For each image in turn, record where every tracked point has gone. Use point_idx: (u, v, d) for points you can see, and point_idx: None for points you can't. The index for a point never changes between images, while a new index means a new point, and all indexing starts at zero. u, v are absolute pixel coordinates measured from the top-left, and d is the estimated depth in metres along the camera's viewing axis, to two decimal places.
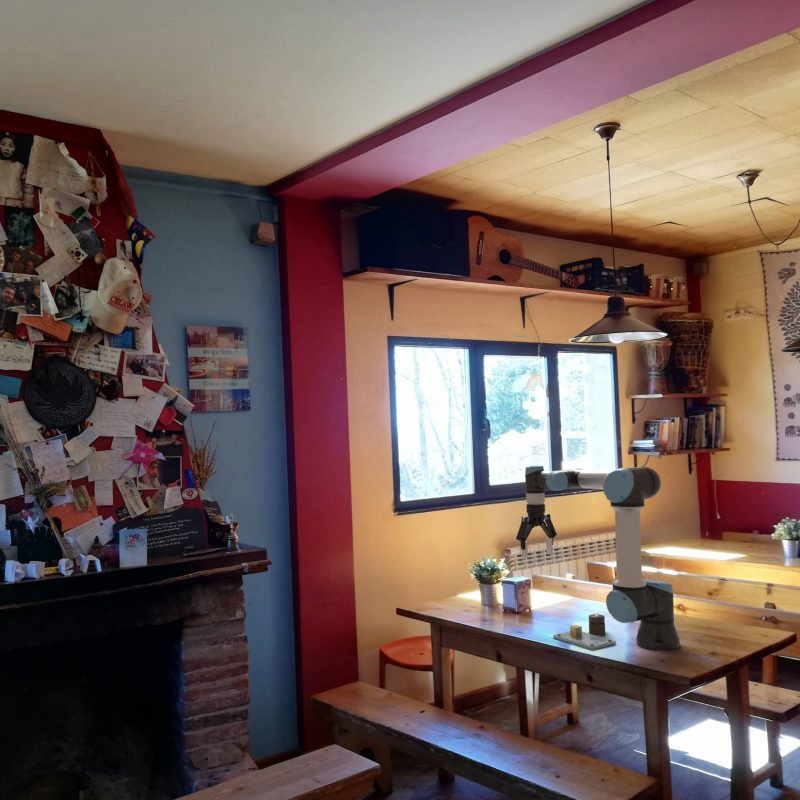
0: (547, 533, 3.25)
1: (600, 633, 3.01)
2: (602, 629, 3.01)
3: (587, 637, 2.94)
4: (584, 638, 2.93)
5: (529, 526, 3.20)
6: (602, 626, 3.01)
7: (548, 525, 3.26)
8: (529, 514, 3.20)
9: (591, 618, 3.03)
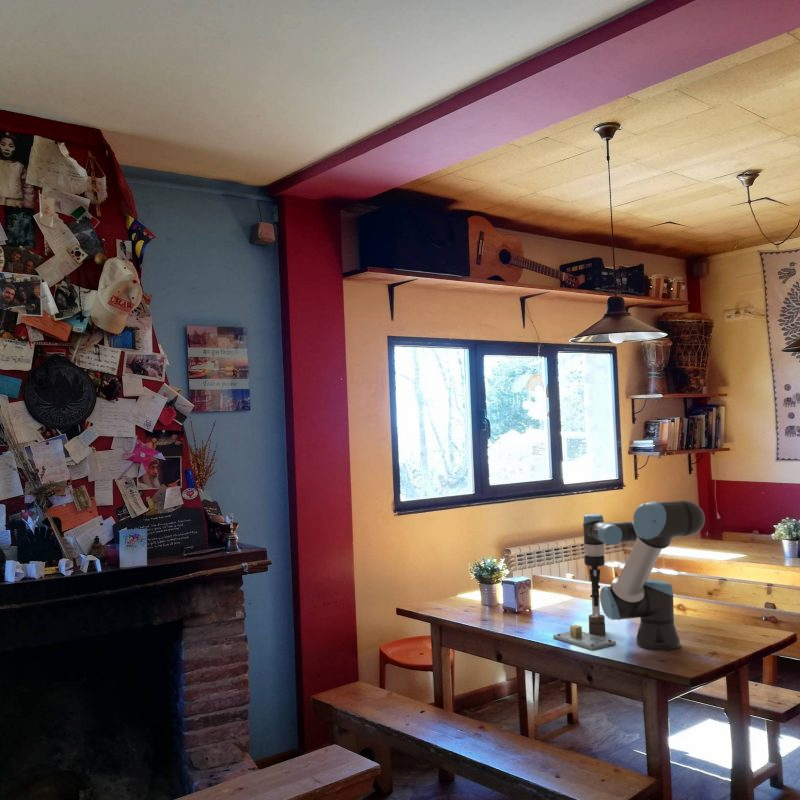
0: None
1: (600, 633, 3.01)
2: (602, 629, 3.01)
3: (587, 637, 2.94)
4: (584, 638, 2.93)
5: None
6: (602, 626, 3.01)
7: None
8: (595, 567, 3.01)
9: (591, 618, 3.03)
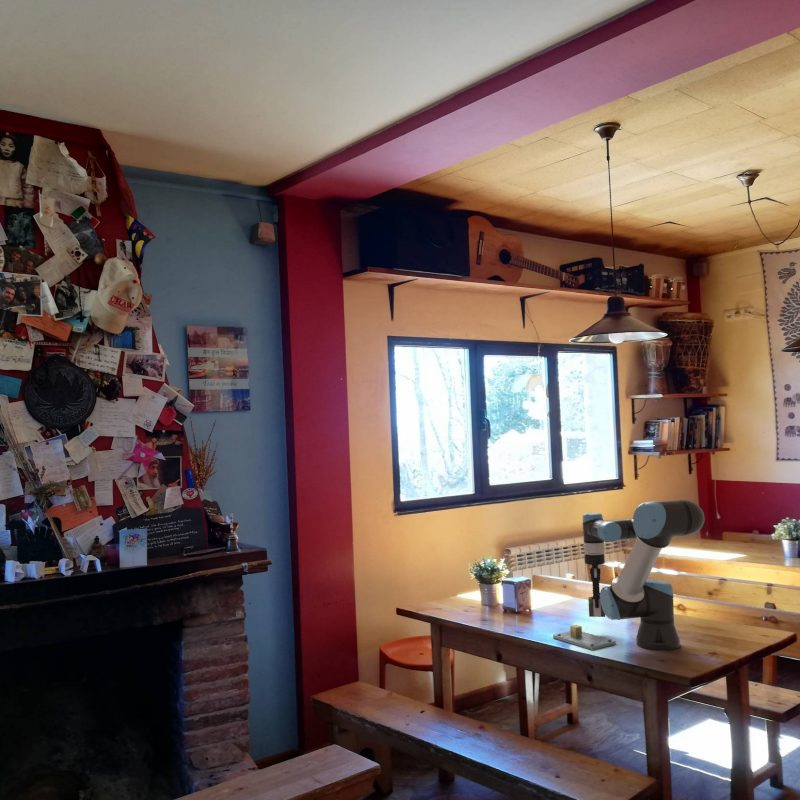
0: None
1: None
2: (602, 611, 3.00)
3: (587, 637, 2.94)
4: (584, 638, 2.93)
5: None
6: None
7: None
8: (595, 566, 3.01)
9: (591, 600, 3.02)
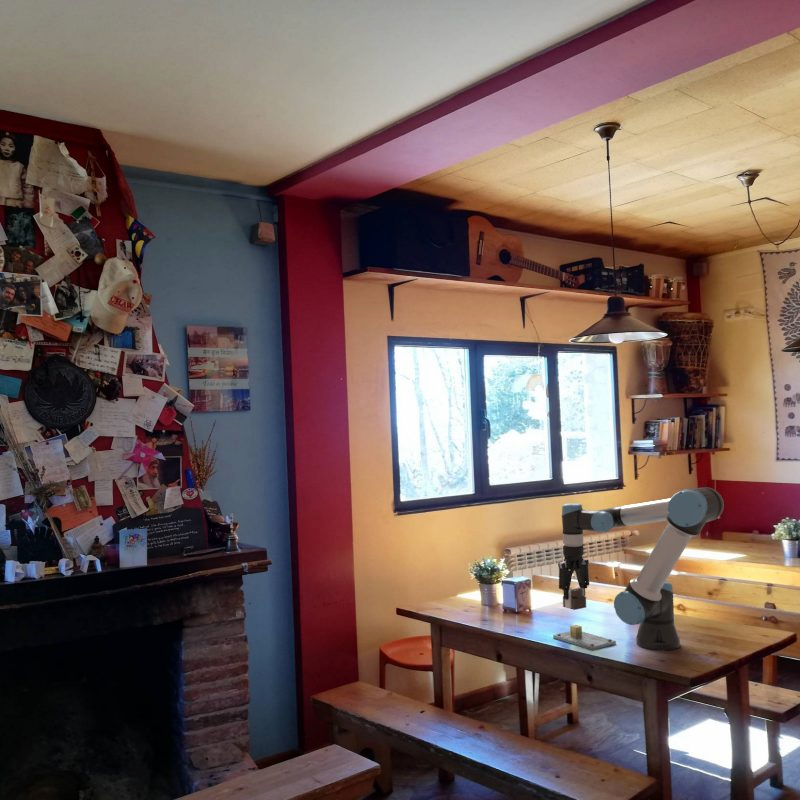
0: (580, 581, 2.99)
1: None
2: (572, 603, 2.94)
3: (587, 637, 2.94)
4: (584, 638, 2.93)
5: (568, 572, 2.96)
6: (572, 600, 2.94)
7: (583, 572, 3.01)
8: (566, 557, 2.96)
9: None
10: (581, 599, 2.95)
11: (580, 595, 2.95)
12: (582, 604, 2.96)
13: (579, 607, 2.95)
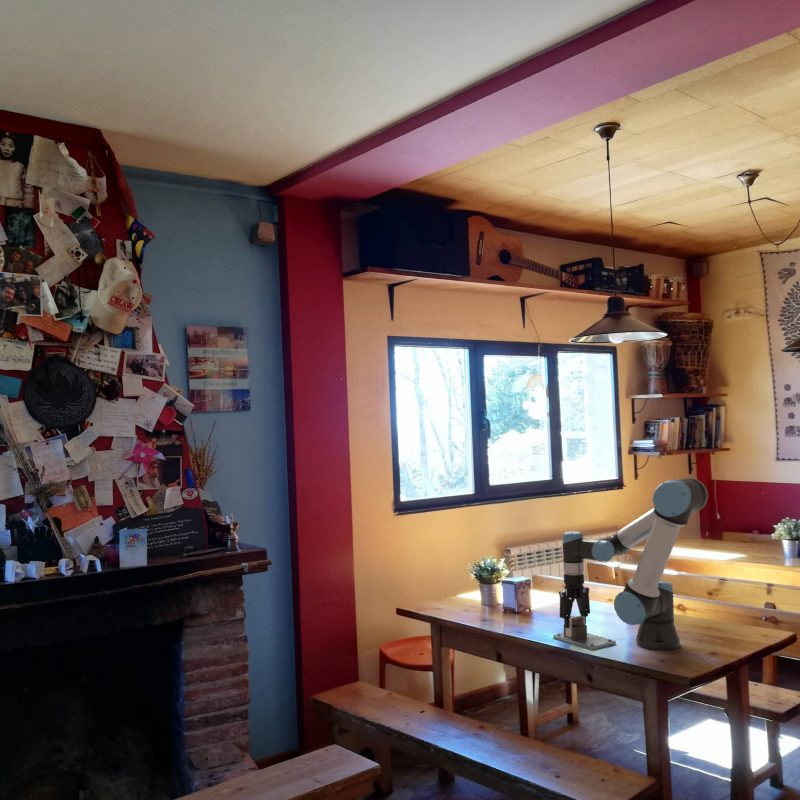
0: (581, 609, 2.99)
1: None
2: (573, 632, 2.94)
3: (587, 637, 2.94)
4: (584, 638, 2.93)
5: (569, 601, 2.95)
6: (573, 628, 2.94)
7: (584, 600, 3.00)
8: (567, 585, 2.95)
9: None
10: (582, 627, 2.95)
11: (581, 623, 2.95)
12: (583, 632, 2.95)
13: (580, 636, 2.94)
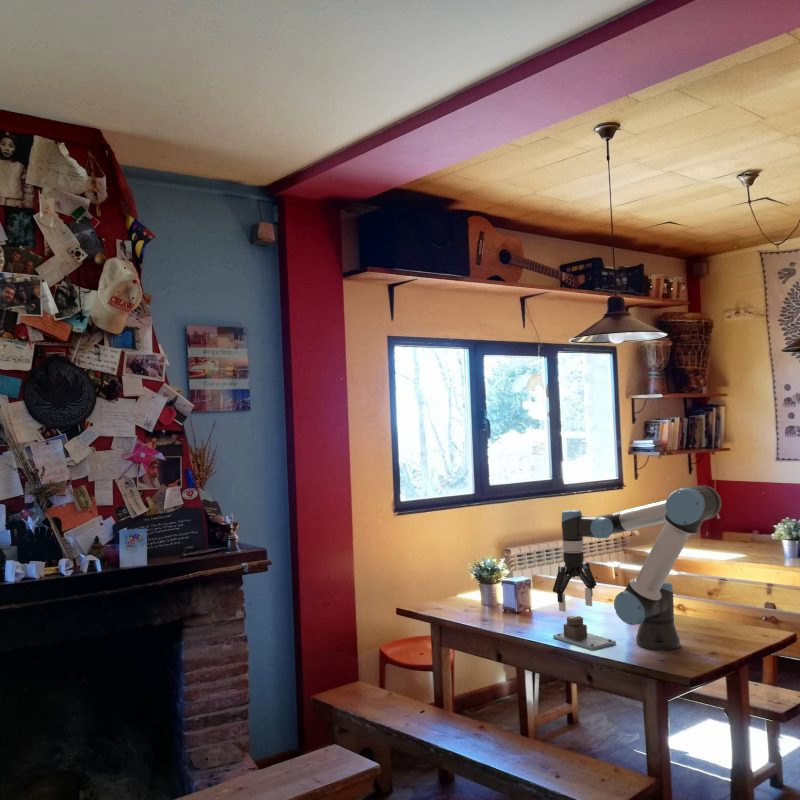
0: (586, 583, 3.00)
1: (571, 635, 2.95)
2: (573, 632, 2.94)
3: (587, 637, 2.94)
4: (584, 638, 2.93)
5: (566, 577, 2.95)
6: (573, 628, 2.94)
7: (587, 574, 3.01)
8: (566, 563, 2.96)
9: None
10: (582, 627, 2.95)
11: (581, 623, 2.95)
12: (583, 632, 2.95)
13: (580, 636, 2.94)
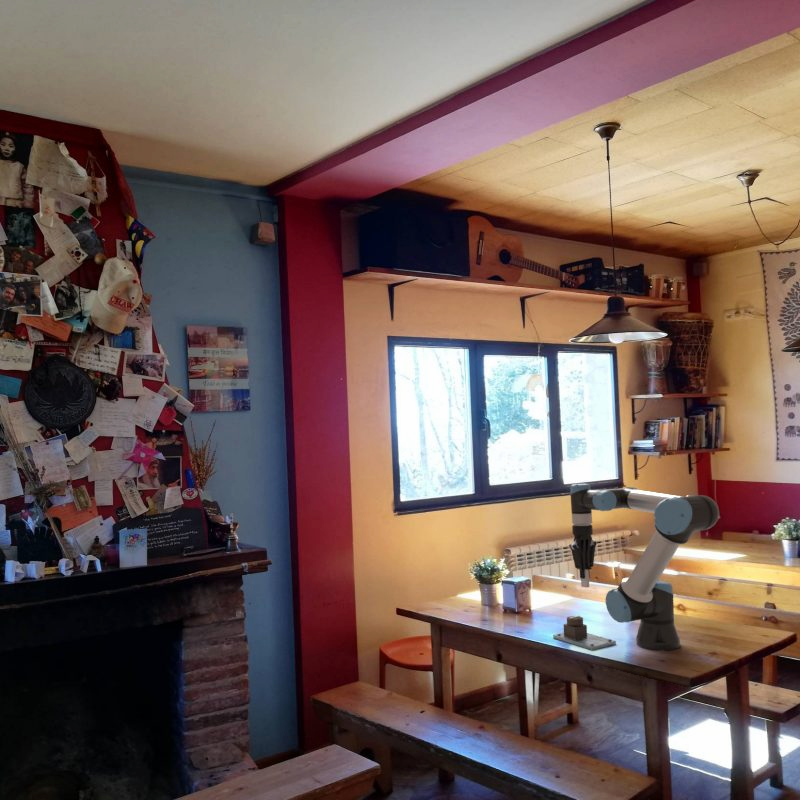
0: (585, 562, 3.02)
1: (571, 635, 2.95)
2: (573, 632, 2.94)
3: (587, 637, 2.94)
4: (584, 638, 2.93)
5: (581, 552, 3.00)
6: (573, 628, 2.94)
7: (589, 553, 3.04)
8: (576, 536, 3.00)
9: None
10: (582, 627, 2.95)
11: (581, 623, 2.95)
12: (583, 632, 2.95)
13: (580, 636, 2.94)
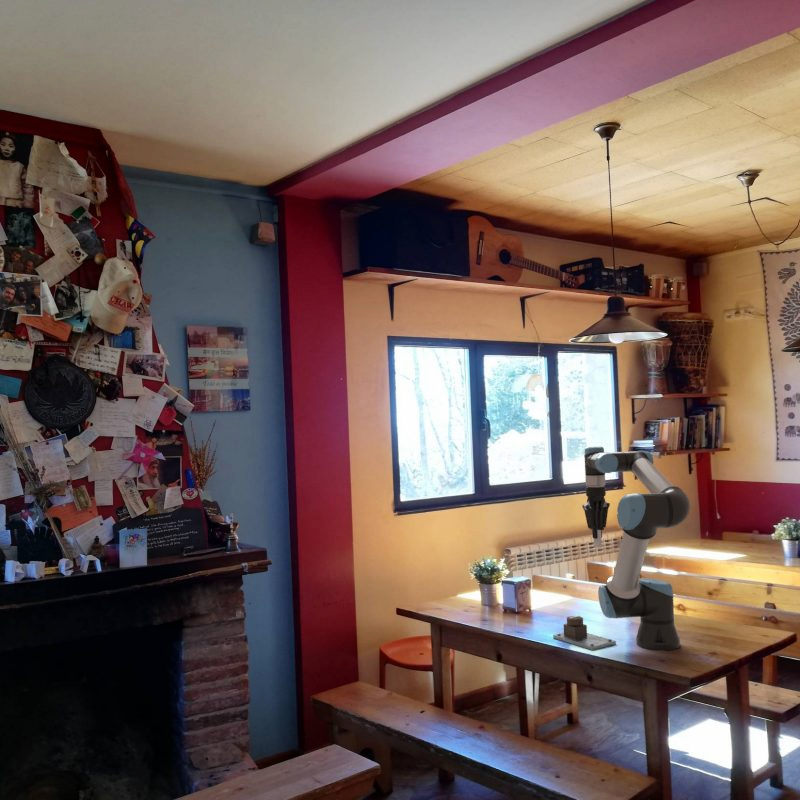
0: (598, 522, 3.09)
1: (571, 635, 2.95)
2: (573, 632, 2.94)
3: (587, 637, 2.94)
4: (584, 638, 2.93)
5: (593, 512, 3.08)
6: (573, 628, 2.94)
7: (602, 514, 3.11)
8: (589, 497, 3.07)
9: None
10: (582, 627, 2.95)
11: (581, 623, 2.95)
12: (583, 632, 2.95)
13: (580, 636, 2.94)
